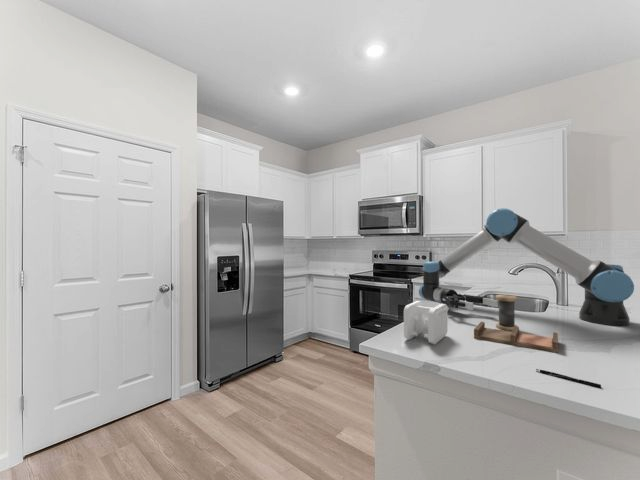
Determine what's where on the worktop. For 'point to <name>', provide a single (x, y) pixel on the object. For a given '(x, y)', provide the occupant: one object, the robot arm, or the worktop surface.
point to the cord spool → (506, 312)
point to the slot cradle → (517, 338)
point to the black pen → (570, 378)
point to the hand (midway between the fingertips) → (485, 305)
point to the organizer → (425, 321)
